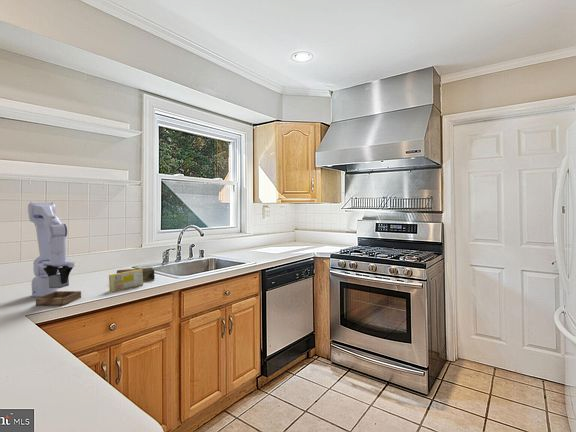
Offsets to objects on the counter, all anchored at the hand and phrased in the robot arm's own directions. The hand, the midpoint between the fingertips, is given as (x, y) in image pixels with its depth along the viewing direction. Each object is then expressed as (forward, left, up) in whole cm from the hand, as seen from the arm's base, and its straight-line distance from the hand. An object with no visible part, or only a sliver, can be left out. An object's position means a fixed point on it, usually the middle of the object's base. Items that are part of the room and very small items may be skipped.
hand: (58, 283), depth 141 cm
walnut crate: (0, 0, -8) cm, 8 cm away
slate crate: (0, 0, -2) cm, 2 cm away
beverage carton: (+15, +39, -9) cm, 43 cm away
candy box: (+18, +23, -9) cm, 30 cm away
